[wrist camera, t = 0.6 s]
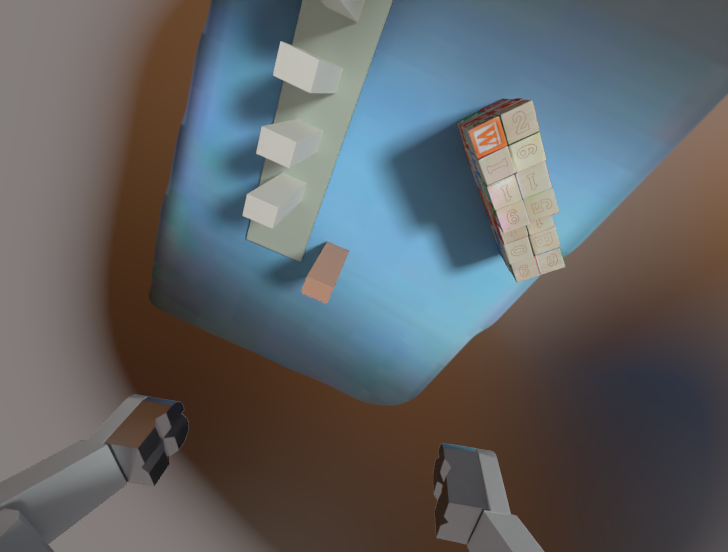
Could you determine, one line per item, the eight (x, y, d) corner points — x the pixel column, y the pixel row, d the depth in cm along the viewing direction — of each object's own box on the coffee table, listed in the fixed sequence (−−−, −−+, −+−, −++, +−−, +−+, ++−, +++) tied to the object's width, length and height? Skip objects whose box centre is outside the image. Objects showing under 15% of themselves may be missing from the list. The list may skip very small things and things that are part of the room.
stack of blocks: (541, 239, 49) (576, 279, 39) (499, 254, 51) (521, 296, 41) (502, 97, 41) (533, 98, 30) (454, 121, 43) (468, 130, 32)
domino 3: (297, 118, 45) (261, 126, 34) (323, 131, 45) (296, 142, 35) (291, 140, 46) (255, 153, 36) (317, 152, 47) (289, 168, 36)
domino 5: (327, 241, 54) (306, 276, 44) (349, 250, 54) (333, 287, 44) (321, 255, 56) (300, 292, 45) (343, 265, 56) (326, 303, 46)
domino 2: (314, 54, 41) (280, 40, 30) (343, 68, 41) (319, 59, 31) (307, 80, 42) (272, 75, 32) (335, 93, 43) (310, 93, 32)
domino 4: (282, 172, 49) (247, 193, 38) (307, 183, 49) (278, 207, 39) (277, 190, 50) (242, 215, 40) (301, 201, 51) (272, 228, 40)
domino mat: (319, -63, 36) (317, -66, 35) (400, -21, 37) (400, -23, 36) (248, 237, 56) (246, 239, 55) (301, 260, 57) (300, 262, 56)
